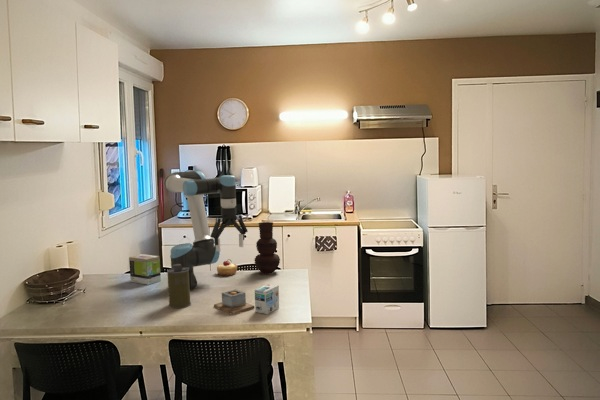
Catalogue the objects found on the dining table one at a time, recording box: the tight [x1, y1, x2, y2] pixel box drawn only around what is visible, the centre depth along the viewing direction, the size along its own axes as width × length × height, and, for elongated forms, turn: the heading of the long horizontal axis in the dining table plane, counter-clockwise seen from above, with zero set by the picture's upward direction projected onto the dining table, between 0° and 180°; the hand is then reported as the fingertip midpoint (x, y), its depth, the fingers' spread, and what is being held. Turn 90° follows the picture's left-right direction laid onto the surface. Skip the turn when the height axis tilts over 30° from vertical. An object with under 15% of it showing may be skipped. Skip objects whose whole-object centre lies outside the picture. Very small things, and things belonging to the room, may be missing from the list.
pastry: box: [216, 258, 238, 276], centre depth 300 cm, size 12×12×9 cm
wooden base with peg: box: [213, 292, 255, 315], centre depth 238 cm, size 16×12×7 cm
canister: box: [166, 264, 192, 309], centre depth 244 cm, size 11×10×20 cm
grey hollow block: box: [221, 288, 247, 309], centre depth 238 cm, size 8×8×6 cm
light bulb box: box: [254, 283, 280, 315], centre depth 234 cm, size 11×7×11 cm, turn 148°
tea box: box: [128, 253, 162, 286], centre depth 287 cm, size 15×10×15 cm
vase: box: [253, 221, 281, 275], centre depth 298 cm, size 15×15×30 cm
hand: (229, 249), depth 250 cm, fingers open, 13 cm apart
